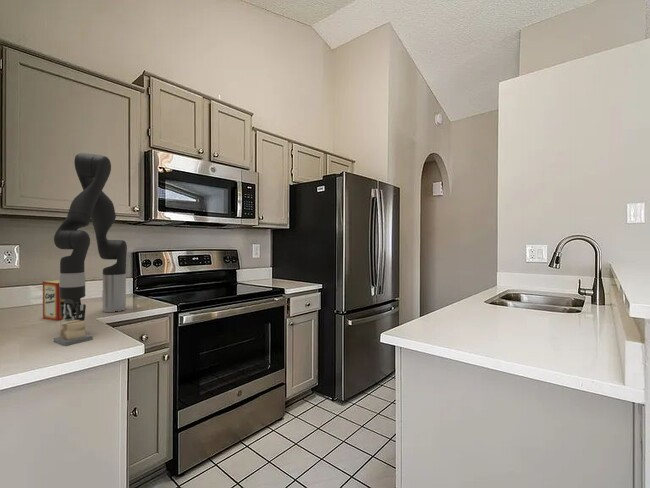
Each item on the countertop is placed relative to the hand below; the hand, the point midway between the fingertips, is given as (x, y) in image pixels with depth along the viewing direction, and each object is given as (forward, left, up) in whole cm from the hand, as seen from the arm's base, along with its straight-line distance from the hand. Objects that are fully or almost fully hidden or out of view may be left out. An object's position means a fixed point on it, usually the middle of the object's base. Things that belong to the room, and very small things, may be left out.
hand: (72, 330), depth 120 cm
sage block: (0, 0, -1) cm, 1 cm away
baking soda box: (-29, +7, -1) cm, 30 cm away
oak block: (+10, -4, +1) cm, 11 cm away
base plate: (+10, -4, -1) cm, 11 cm away
